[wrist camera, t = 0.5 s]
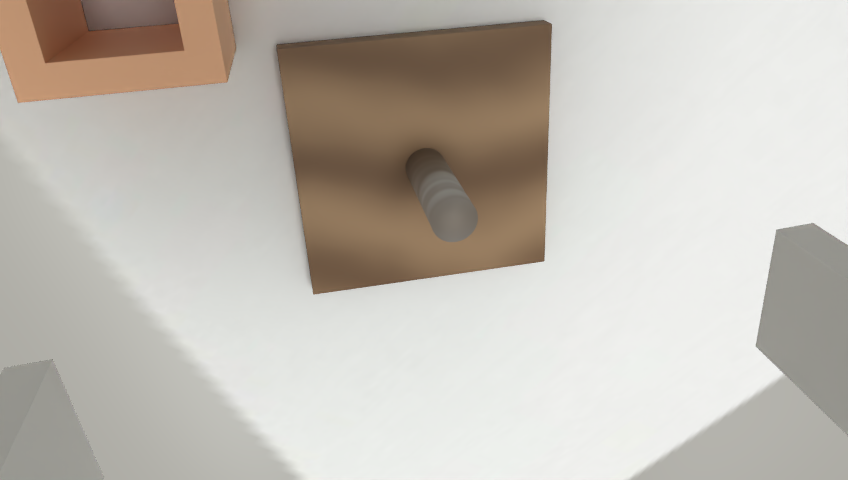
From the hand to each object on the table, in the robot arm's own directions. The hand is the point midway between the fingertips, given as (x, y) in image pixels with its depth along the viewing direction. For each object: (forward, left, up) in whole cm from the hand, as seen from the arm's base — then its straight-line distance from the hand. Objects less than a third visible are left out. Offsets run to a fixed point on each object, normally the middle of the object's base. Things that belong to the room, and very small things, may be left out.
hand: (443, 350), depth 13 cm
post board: (+6, +4, -26) cm, 27 cm away
